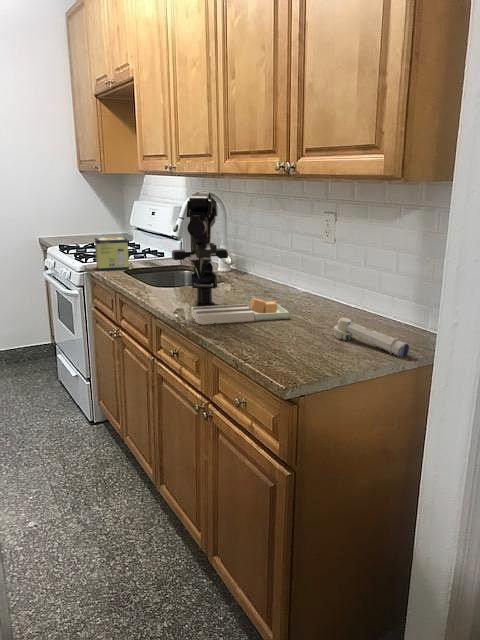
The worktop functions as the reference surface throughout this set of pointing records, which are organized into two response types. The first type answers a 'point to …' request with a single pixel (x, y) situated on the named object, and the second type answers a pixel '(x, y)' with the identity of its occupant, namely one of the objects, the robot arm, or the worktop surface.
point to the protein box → (112, 254)
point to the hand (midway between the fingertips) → (200, 278)
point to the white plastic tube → (370, 337)
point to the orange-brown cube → (257, 305)
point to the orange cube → (270, 307)
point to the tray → (272, 315)
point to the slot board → (222, 314)
